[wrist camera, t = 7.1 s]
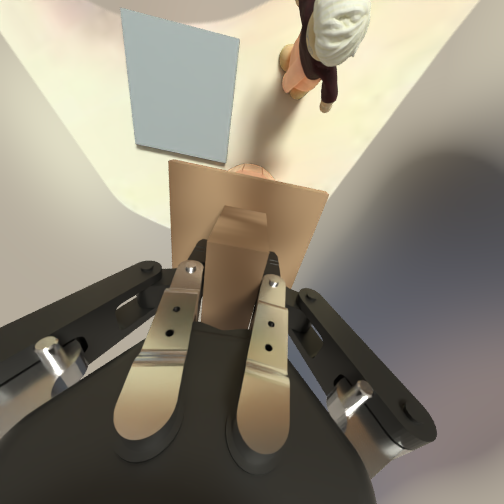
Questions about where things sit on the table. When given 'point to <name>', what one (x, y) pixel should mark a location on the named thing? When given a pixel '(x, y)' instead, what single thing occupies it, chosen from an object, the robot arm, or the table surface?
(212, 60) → the mat
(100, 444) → the robot arm
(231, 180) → the lid
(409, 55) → the table surface
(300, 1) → the grandmother figurine
